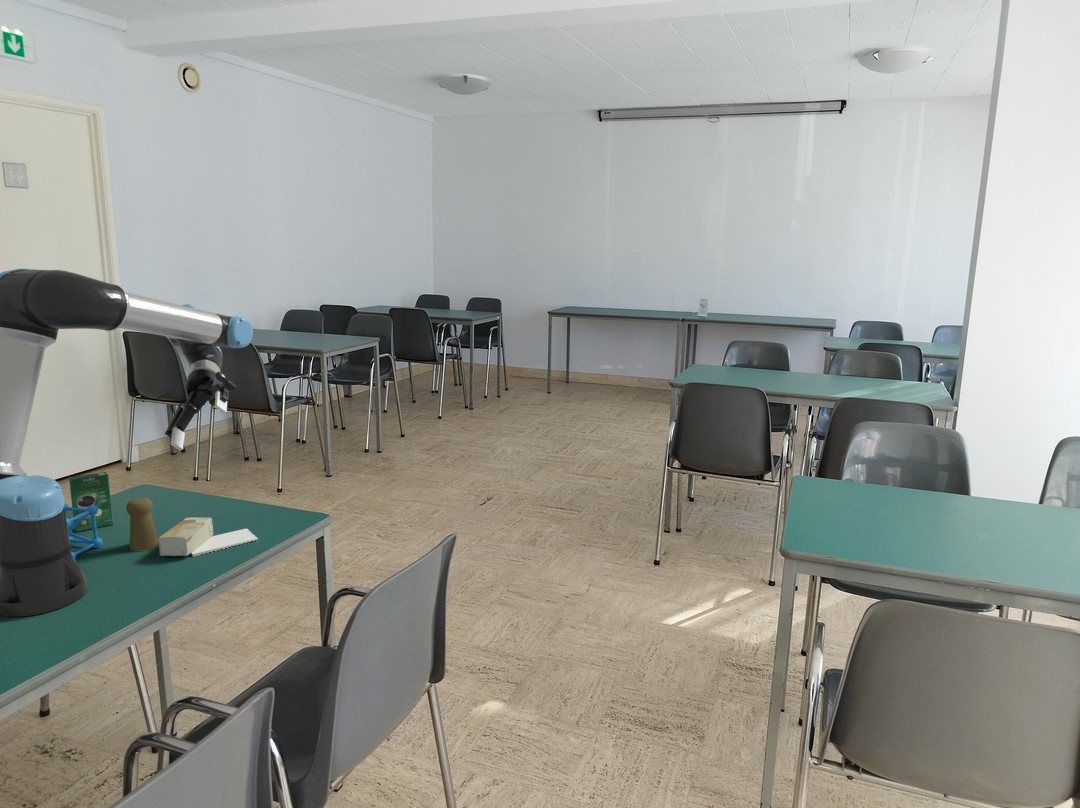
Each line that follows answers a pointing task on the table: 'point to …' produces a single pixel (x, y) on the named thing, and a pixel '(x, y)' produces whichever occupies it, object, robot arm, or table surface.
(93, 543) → the molecular structure
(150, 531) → the cork
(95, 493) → the coffee box
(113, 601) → the table surface
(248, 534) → the mat
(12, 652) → the table surface
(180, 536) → the skincare box
